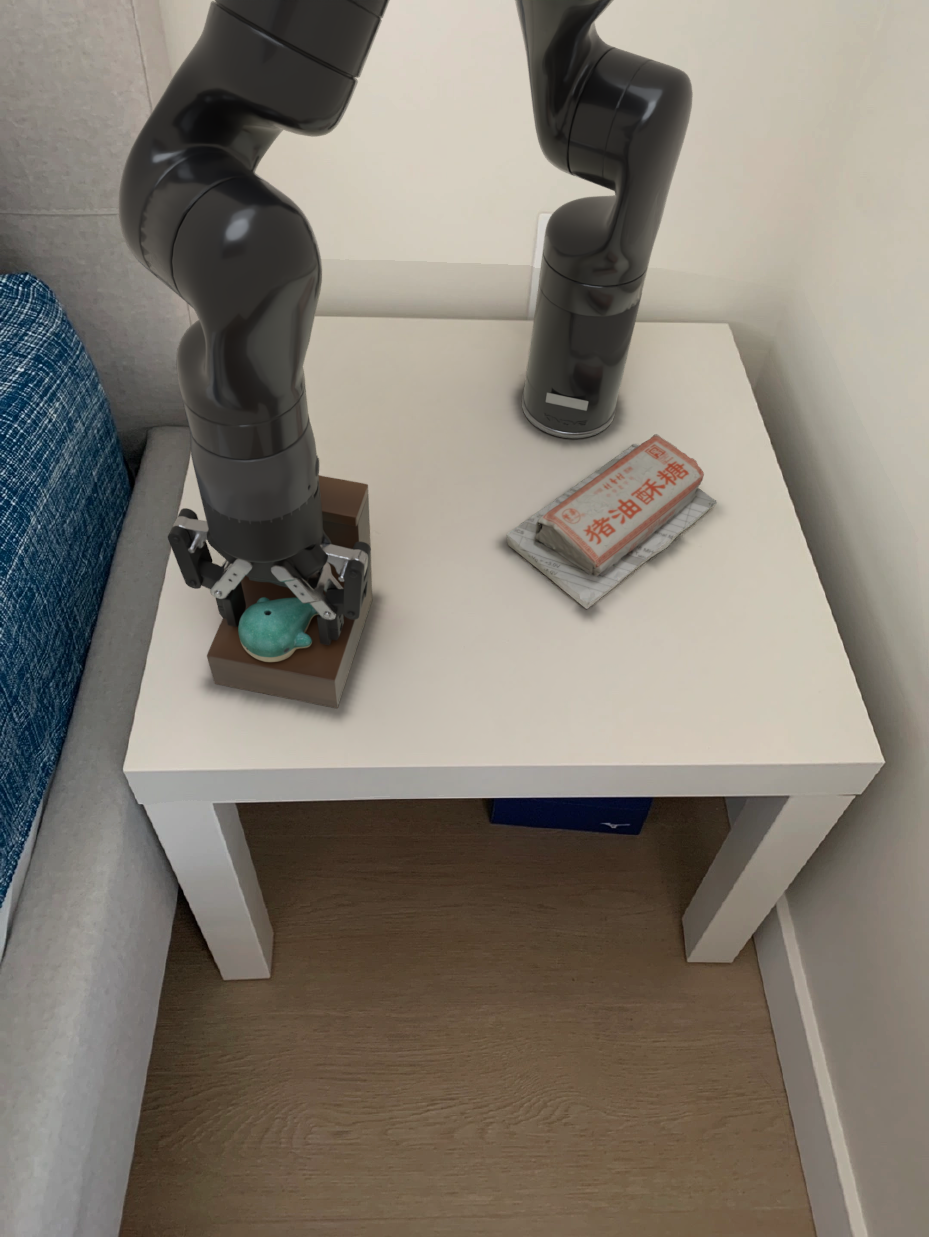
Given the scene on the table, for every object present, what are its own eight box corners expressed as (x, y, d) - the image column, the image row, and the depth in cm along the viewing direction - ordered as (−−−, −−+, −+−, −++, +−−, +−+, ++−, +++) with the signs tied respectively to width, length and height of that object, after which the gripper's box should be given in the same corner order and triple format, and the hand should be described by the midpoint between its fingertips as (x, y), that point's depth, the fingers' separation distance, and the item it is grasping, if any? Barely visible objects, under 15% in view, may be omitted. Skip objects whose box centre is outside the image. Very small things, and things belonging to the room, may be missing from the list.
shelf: (258, 577, 83) (236, 459, 72) (372, 599, 83) (368, 483, 71) (214, 683, 77) (182, 572, 66) (337, 708, 76) (326, 600, 65)
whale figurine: (224, 635, 75) (217, 605, 72) (299, 584, 78) (295, 554, 75) (272, 682, 73) (266, 654, 69) (347, 628, 76) (345, 598, 73)
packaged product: (643, 414, 91) (728, 473, 87) (633, 452, 95) (714, 509, 91) (508, 509, 83) (595, 578, 79) (503, 546, 87) (586, 613, 83)
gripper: (125, 495, 60) (175, 648, 73) (353, 537, 59) (361, 685, 72) (170, 413, 64) (210, 572, 78) (383, 452, 63) (386, 606, 76)
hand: (283, 626), depth 75 cm, fingers open, 6 cm apart
